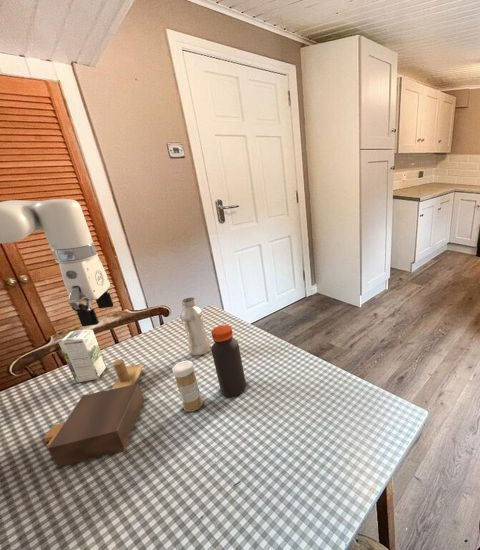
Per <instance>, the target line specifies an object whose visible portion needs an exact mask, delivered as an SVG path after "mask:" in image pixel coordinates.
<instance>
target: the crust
mask: <svg viewBox="0 0 480 550" xmlns="http://www.w3.org/2000/svg"><path fill="white" fill-rule="evenodd" d="M64 423H65V422H63V423H62V422H61V423H57V424H53V425H52V426H51V428H50V429H49V430H48V432H47V433H46V434H45V436H44V437H43V440H44V441H45V443H47V442H48V443H49V441H50V440H51V438H52V437H53V435H54V434H55V432H56V431H60V429H61V428H62V426H63V425H64Z"/></svg>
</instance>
